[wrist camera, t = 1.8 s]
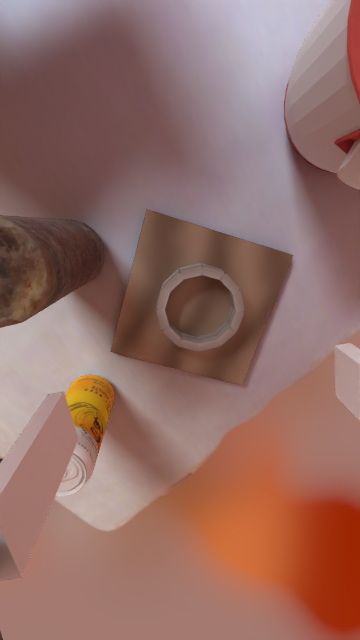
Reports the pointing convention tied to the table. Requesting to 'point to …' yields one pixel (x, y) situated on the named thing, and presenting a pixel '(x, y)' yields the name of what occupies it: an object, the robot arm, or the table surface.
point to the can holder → (197, 298)
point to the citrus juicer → (328, 93)
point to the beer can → (86, 428)
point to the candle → (43, 263)
